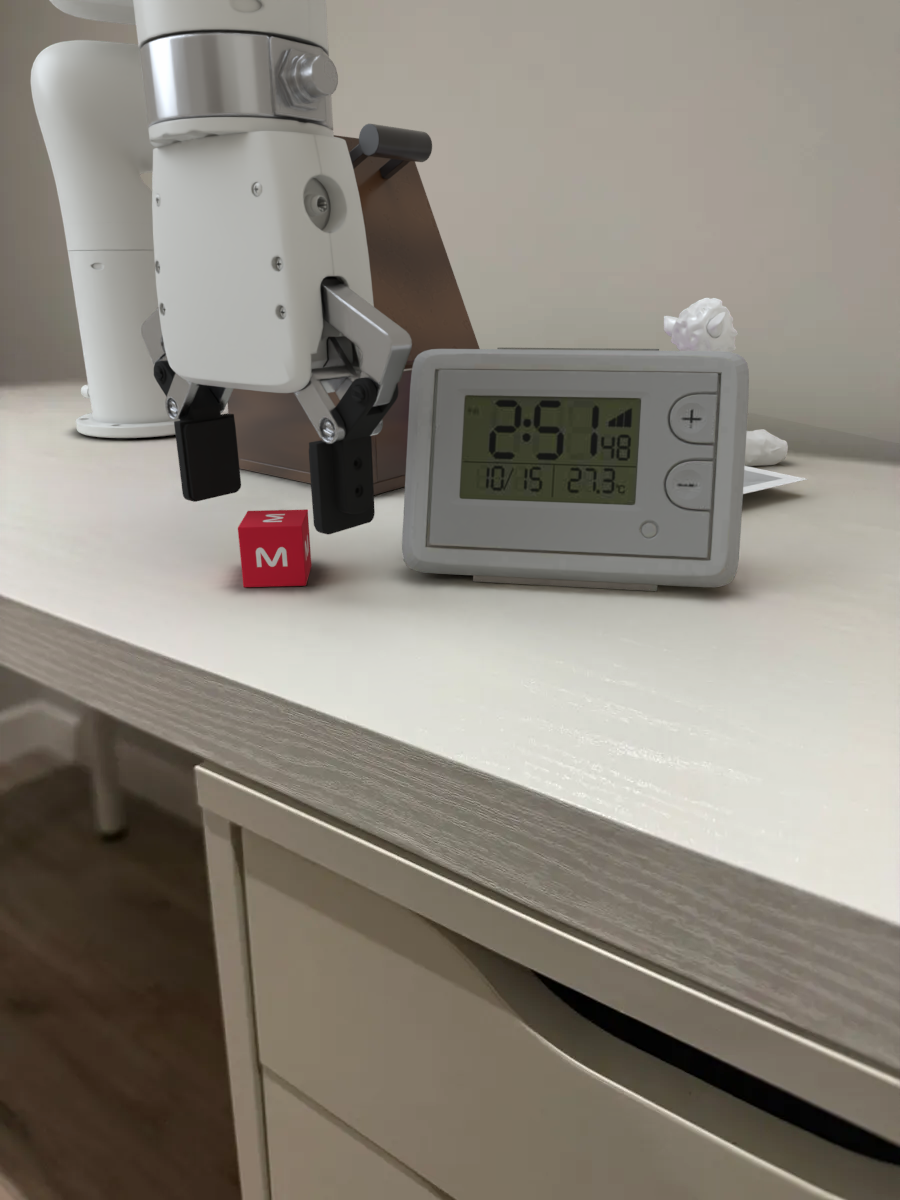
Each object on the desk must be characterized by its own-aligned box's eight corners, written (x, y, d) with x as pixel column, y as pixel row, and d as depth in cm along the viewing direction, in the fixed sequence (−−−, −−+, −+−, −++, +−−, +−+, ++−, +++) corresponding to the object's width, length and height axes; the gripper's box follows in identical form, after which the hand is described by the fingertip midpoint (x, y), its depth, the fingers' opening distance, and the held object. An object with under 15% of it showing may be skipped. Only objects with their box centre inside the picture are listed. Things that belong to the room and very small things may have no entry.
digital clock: (384, 578, 43) (376, 355, 39) (451, 529, 51) (450, 339, 47) (727, 622, 38) (756, 367, 34) (743, 560, 46) (768, 347, 42)
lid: (275, 134, 55) (324, 85, 51) (402, 150, 63) (451, 109, 60) (360, 371, 56) (413, 339, 52) (473, 356, 64) (526, 328, 61)
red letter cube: (252, 567, 45) (247, 510, 44) (311, 565, 45) (307, 509, 44) (243, 587, 42) (237, 527, 41) (306, 585, 42) (301, 526, 41)
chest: (233, 467, 67) (223, 362, 65) (343, 444, 76) (338, 350, 73) (369, 496, 59) (364, 376, 56) (477, 466, 67) (477, 360, 64)
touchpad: (554, 505, 56) (555, 472, 55) (710, 473, 64) (713, 444, 63) (645, 534, 50) (647, 497, 49) (805, 495, 58) (810, 462, 57)
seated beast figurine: (790, 463, 67) (812, 297, 63) (719, 480, 62) (738, 301, 58) (690, 445, 74) (704, 294, 70) (619, 458, 69) (629, 297, 65)
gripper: (460, 91, 34) (463, 523, 40) (193, 138, 44) (228, 474, 50) (313, 59, 28) (343, 563, 34) (49, 121, 39) (107, 500, 45)
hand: (274, 510), depth 42 cm, fingers open, 9 cm apart
